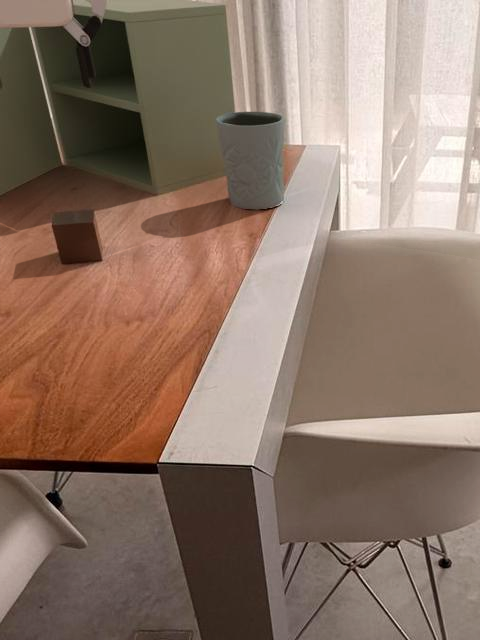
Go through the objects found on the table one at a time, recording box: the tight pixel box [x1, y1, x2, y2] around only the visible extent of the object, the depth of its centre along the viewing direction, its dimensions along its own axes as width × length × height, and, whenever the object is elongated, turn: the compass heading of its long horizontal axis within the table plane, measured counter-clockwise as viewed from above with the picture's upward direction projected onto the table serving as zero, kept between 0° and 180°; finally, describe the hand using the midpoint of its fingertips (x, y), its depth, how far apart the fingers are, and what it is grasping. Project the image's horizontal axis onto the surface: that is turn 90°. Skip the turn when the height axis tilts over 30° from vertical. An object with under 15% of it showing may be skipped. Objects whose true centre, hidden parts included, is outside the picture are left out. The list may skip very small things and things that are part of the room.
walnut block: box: [51, 208, 103, 265], centre depth 88 cm, size 5×5×5 cm
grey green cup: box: [216, 111, 285, 210], centre depth 105 cm, size 10×10×12 cm
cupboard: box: [30, 0, 236, 196], centre depth 113 cm, size 18×26×24 cm
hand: (43, 87), depth 77 cm, fingers open, 9 cm apart
